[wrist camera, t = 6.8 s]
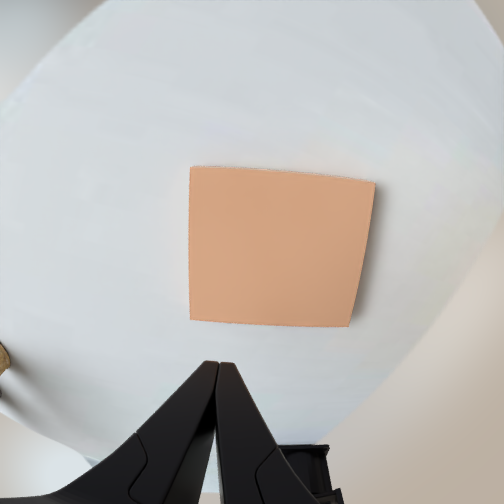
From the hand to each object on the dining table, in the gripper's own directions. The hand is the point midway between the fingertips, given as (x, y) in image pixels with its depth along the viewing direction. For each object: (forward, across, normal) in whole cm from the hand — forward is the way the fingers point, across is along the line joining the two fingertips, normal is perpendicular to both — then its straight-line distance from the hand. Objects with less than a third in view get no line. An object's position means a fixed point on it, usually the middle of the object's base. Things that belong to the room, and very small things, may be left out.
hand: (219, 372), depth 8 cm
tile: (+12, -2, 0) cm, 12 cm away
